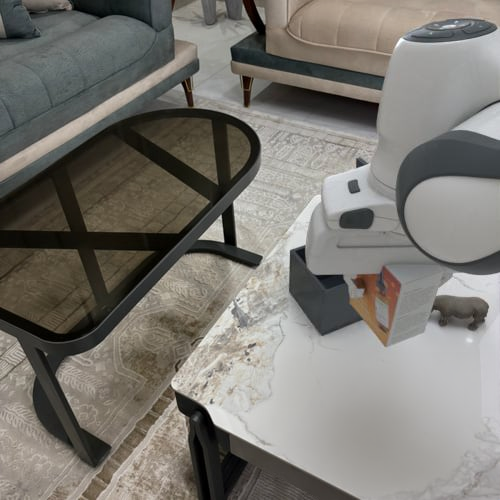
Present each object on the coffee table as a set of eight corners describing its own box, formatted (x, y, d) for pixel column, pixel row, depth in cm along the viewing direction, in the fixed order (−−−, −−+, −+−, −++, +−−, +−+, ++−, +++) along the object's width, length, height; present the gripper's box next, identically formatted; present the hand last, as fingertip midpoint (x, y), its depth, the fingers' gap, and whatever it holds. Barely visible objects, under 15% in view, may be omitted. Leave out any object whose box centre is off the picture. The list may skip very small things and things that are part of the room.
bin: (321, 336, 89) (325, 293, 82) (288, 291, 97) (289, 249, 90) (388, 309, 93) (397, 267, 86) (351, 269, 101) (357, 227, 95)
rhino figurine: (405, 307, 93) (411, 284, 89) (483, 315, 91) (492, 292, 87) (406, 323, 90) (412, 300, 86) (487, 333, 88) (496, 309, 84)
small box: (348, 303, 63) (357, 238, 56) (385, 289, 64) (399, 225, 58) (385, 349, 57) (400, 284, 50) (425, 334, 59) (445, 268, 52)
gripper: (507, 175, 51) (472, 273, 60) (307, 179, 52) (301, 276, 61) (532, 212, 46) (490, 313, 55) (312, 216, 47) (305, 315, 56)
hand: (390, 293), depth 58 cm, fingers closed on small box, 7 cm apart
